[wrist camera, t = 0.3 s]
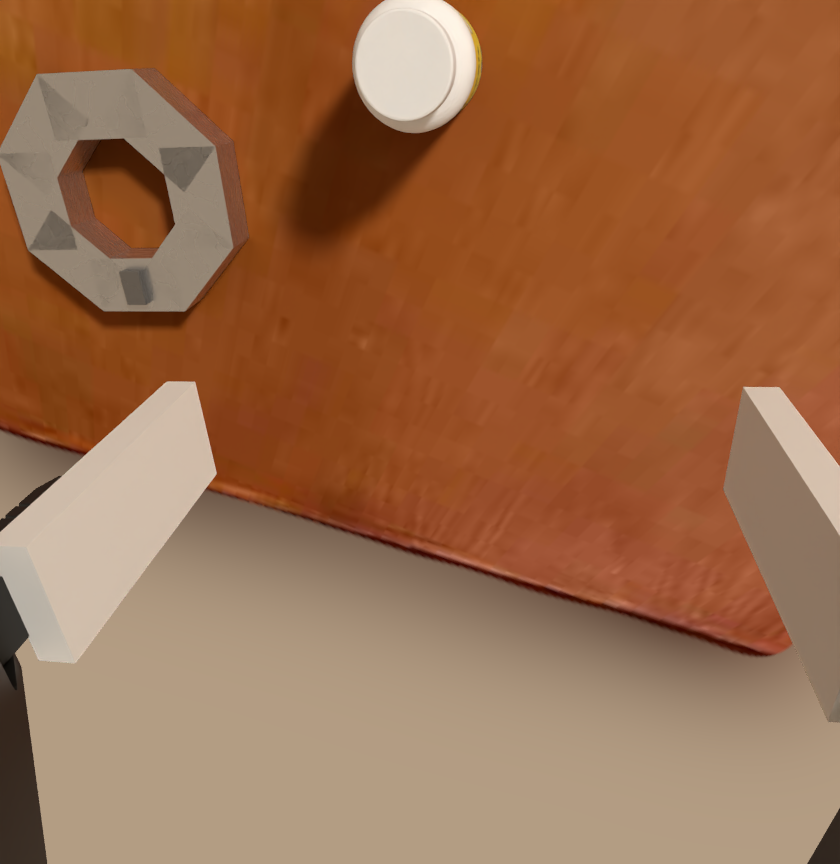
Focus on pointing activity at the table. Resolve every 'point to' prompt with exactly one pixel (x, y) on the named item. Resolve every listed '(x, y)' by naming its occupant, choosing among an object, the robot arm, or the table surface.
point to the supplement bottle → (416, 63)
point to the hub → (69, 200)
